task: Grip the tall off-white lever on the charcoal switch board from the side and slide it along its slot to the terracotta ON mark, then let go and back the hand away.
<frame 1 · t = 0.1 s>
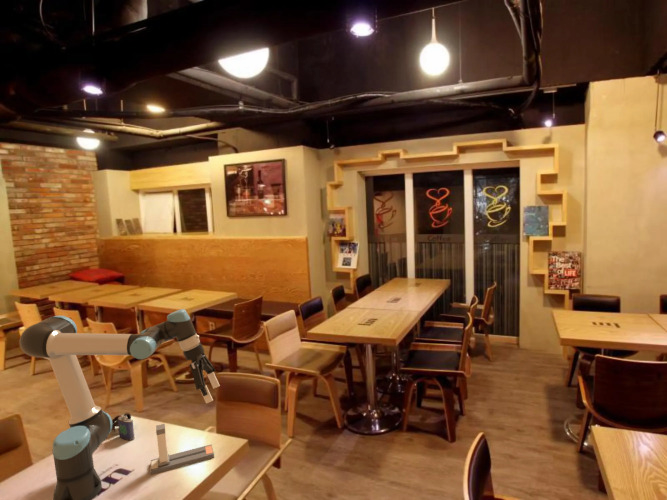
hand: (213, 394, 168), 28 cm above the table, tool tilted 20°, fingers open, 13 cm apart
flask: (126, 438, 192), on the table
lever: (162, 444, 168), point 9 cm above the table, slide at -7.0 cm
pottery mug: (122, 429, 200), on the table
switch board: (182, 460, 171), on the table
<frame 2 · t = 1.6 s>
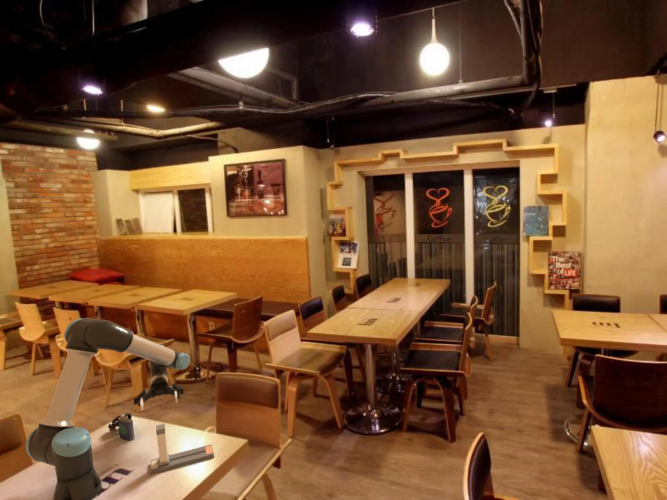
hand: (159, 403, 175), 22 cm above the table, tool horizontal, fingers open, 13 cm apart
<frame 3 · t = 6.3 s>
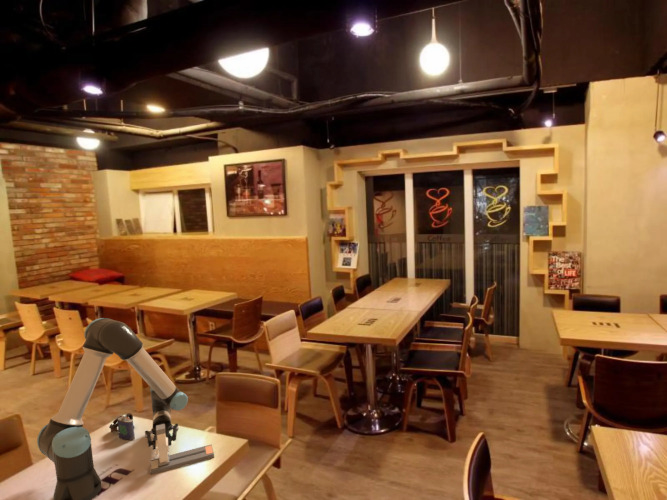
hand: (162, 450, 163), 9 cm above the table, tool horizontal, fingers closed on lever, 3 cm apart
lever: (162, 444, 168), point 9 cm above the table, slide at -7.0 cm, touching gripper
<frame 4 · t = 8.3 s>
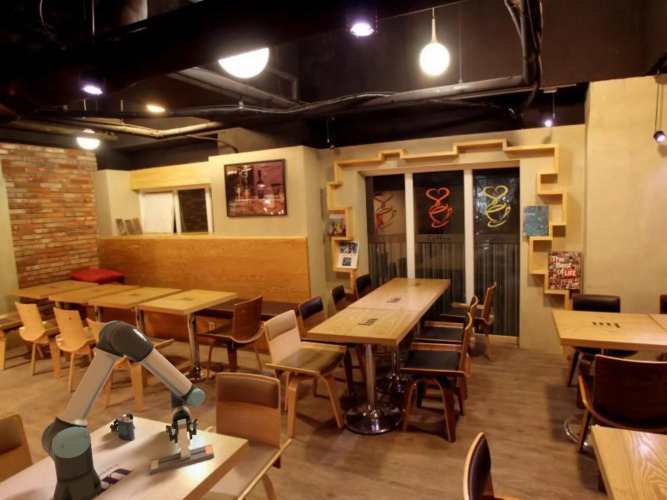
hand: (184, 443, 166), 10 cm above the table, tool horizontal, fingers closed on lever, 3 cm apart
lever: (183, 438, 171), point 9 cm above the table, slide at 1.1 cm, touching gripper
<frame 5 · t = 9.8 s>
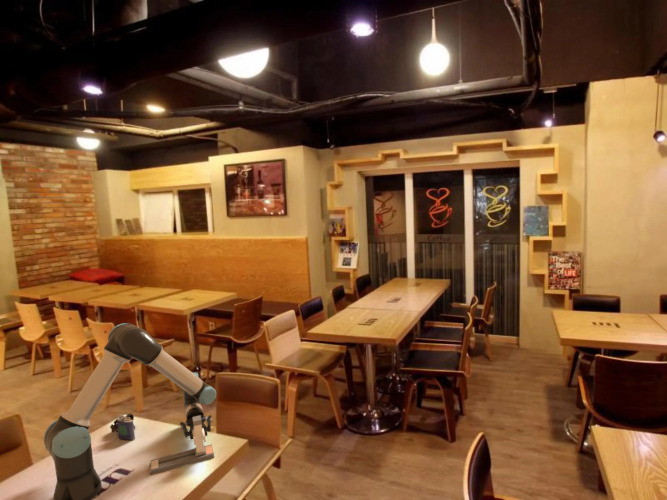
hand: (199, 440, 168), 10 cm above the table, tool horizontal, fingers closed on lever, 3 cm apart
flask: (126, 438, 191), on the table, touching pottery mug
lever: (198, 435, 173), point 9 cm above the table, slide at 7.0 cm, touching gripper
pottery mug: (125, 430, 199), on the table, touching flask
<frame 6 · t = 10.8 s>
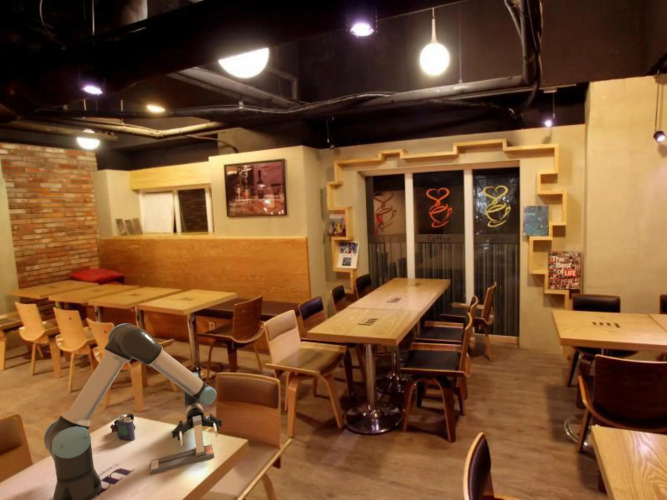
hand: (199, 437, 170), 9 cm above the table, tool horizontal, fingers open, 13 cm apart
flask: (126, 439, 191), on the table
lever: (198, 435, 173), point 9 cm above the table, slide at 7.0 cm
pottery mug: (125, 430, 199), on the table
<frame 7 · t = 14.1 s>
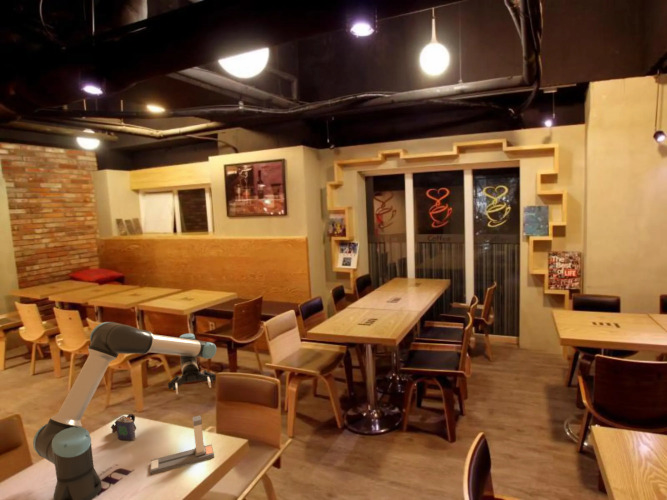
hand: (193, 387, 180), 25 cm above the table, tool horizontal, fingers open, 13 cm apart
flask: (126, 439, 191), on the table, touching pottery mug
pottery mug: (126, 431, 198), on the table, touching flask
everything else where it was.
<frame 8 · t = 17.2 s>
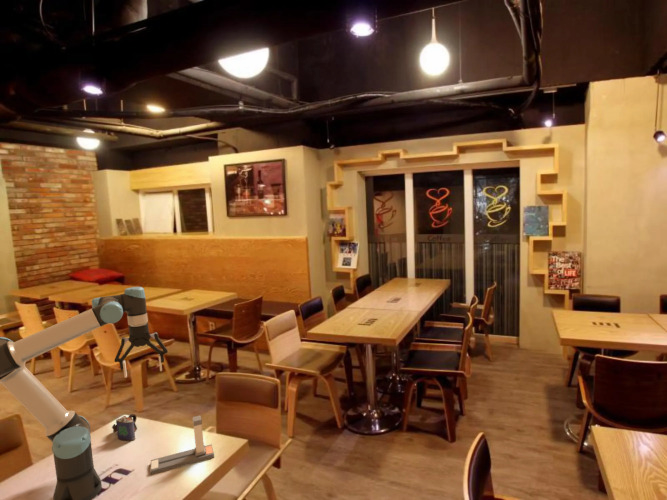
hand: (143, 373, 176), 35 cm above the table, tool pointing down, fingers open, 13 cm apart
flask: (126, 439, 191), on the table
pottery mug: (127, 431, 198), on the table
everything else where it was.
at the end: lever slide at 7.0 cm; the gripper is holding nothing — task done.
